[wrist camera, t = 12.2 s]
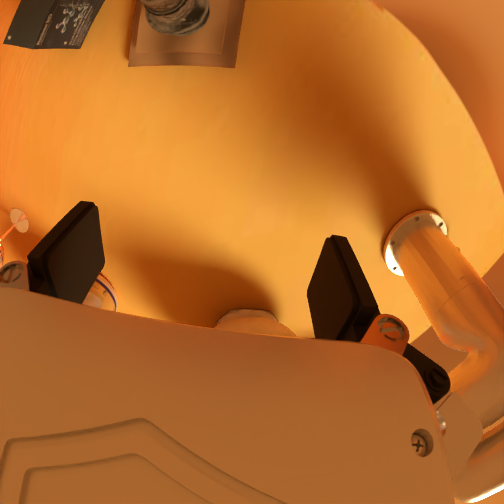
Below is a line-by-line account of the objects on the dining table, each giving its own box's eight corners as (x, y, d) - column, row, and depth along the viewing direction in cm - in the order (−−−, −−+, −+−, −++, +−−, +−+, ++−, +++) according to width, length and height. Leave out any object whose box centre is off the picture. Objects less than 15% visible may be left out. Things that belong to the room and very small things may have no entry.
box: (81, 49, 23) (31, 50, 15) (52, 41, 22) (1, 44, 13) (108, -4, 20) (64, -21, 11) (77, -9, 18) (30, -22, 9)
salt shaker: (156, -6, 18) (110, -39, 9) (213, -12, 18) (196, -57, 9) (155, 41, 22) (104, 28, 12) (212, 36, 22) (192, 13, 12)
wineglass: (11, 235, 38) (-24, 276, 29) (3, 203, 35) (-38, 241, 25) (35, 238, 39) (0, 283, 30) (27, 204, 35) (-15, 246, 26)
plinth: (248, -20, 20) (249, -31, 17) (234, 68, 27) (233, 67, 24) (146, -19, 19) (135, -28, 16) (134, 66, 26) (121, 66, 23)
